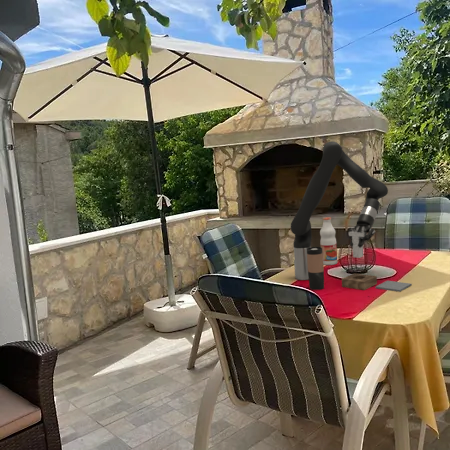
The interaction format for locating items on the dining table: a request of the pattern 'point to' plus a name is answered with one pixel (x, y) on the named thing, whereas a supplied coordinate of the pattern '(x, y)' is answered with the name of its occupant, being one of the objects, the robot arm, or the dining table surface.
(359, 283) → the socket block
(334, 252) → the fruit juice
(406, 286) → the grey mat
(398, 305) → the dining table surface
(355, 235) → the t key
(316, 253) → the travel mug
